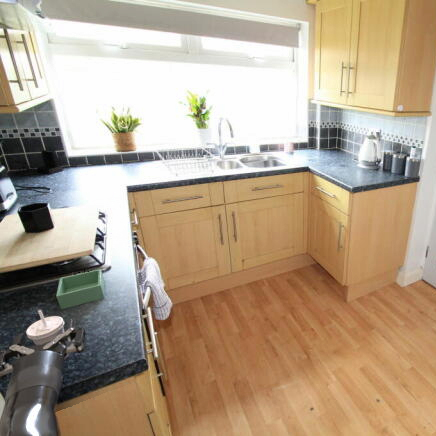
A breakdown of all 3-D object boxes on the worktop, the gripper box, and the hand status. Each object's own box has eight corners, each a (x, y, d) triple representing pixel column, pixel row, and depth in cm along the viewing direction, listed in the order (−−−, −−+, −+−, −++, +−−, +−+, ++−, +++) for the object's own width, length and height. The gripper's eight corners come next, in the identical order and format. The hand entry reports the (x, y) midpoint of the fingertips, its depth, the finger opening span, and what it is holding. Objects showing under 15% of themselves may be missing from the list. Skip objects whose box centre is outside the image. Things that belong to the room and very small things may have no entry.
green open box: (61, 309, 89) (56, 296, 88) (64, 290, 97) (59, 278, 95) (104, 297, 95) (100, 285, 93) (104, 280, 102) (100, 268, 100)
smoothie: (48, 373, 70) (26, 324, 65) (35, 361, 73) (12, 313, 68) (80, 353, 76) (62, 306, 70) (67, 343, 78) (48, 297, 73)
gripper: (77, 352, 61) (81, 305, 74) (-26, 386, 54) (-3, 328, 67) (88, 379, 64) (90, 330, 77) (-9, 415, 57) (11, 354, 70)
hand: (47, 329), depth 72 cm, fingers open, 8 cm apart
